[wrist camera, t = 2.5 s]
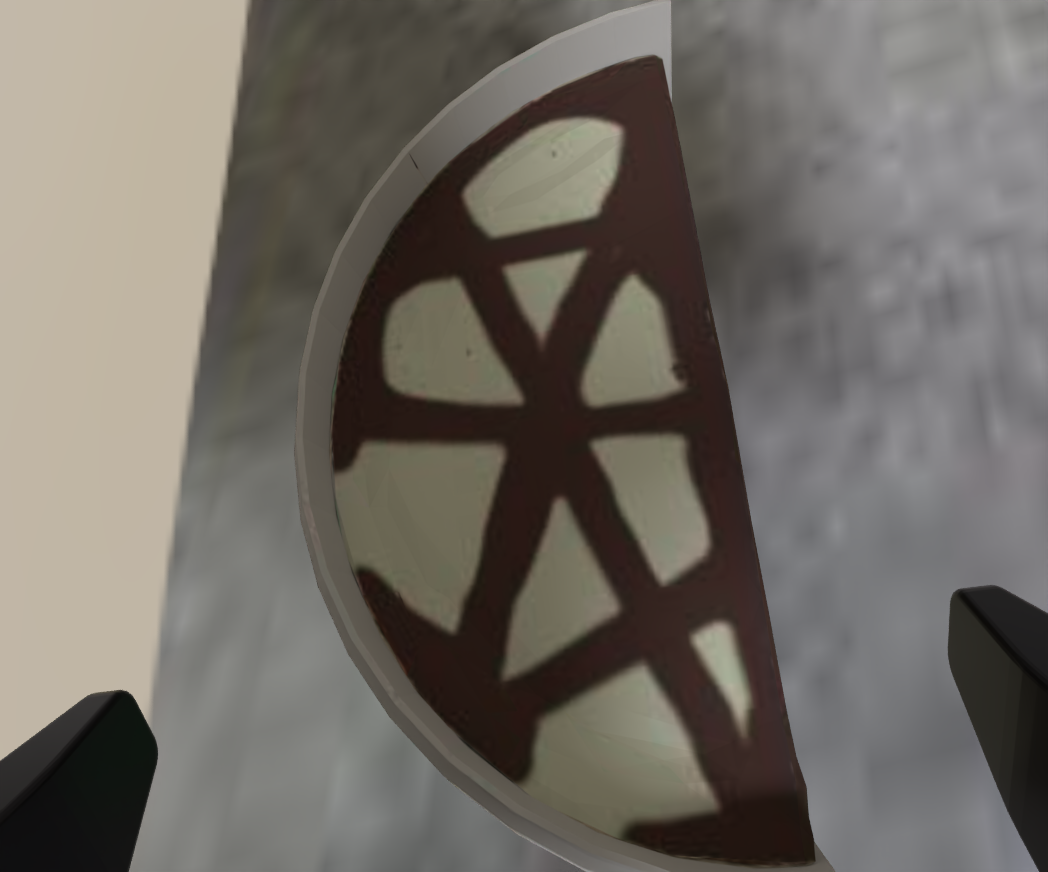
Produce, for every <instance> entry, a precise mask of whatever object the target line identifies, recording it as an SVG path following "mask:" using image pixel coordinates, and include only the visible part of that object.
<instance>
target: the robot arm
mask: <svg viewBox="0 0 1048 872" xmlns="http://www.w3.org/2000/svg"><path fill="white" fill-rule="evenodd" d="M948 659H949V664H950V668H951V672H952V675H953V677H954V680H955V682H956V685H957V687H958V690H959V692H960V695H961V697H962V700H963V702H964V705H965V707H966V710H967V712H968V715H969V717H970V720H971V722H972V725H973V727H974V730H975V732H976V735H977V737H978V740H979V742H980V745H981V747H982V750H983V752H984V755H985V757H986V760H987V762H988V765H989V767H990V770H991V772H992V775H993V777H994V780H995V782H996V785H997V787H998V790H999V792H1000V794H1001V797H1002V799H1003V802H1004V804H1005V806H1006V809H1007V811H1008V813H1009V815H1010V817H1011V819H1012V821H1013V823H1014V825H1015V827H1016V829H1017V831H1018V833H1019V835H1020V837H1021V839H1022V841H1023V843H1024V844H1025V846H1026V848H1027V850H1028V852H1029V854H1030V856H1031V857H1032V859H1033V861H1034V863H1035V865H1036V867H1037V869H1038V870H1039V872H1048V613H1046V612H1045V611H1043V610H1041V609H1039V608H1037V607H1036V606H1034V605H1032V604H1030V603H1028V602H1027V601H1025V600H1023V599H1021V598H1019V597H1018V596H1016V595H1014V594H1012V593H1010V592H1009V591H1007V590H1005V589H1003V588H1001V587H999V586H995V585H987V586H978V587H970V588H962V589H958V590H956V591H955V592H954V593H953V595H952V597H951V601H950V616H949V636H948ZM157 760H158V747H157V743H156V739H155V737H154V735H153V733H152V731H151V729H150V727H149V725H148V724H147V722H146V720H145V718H144V716H143V714H142V712H141V710H140V708H139V706H138V704H137V702H136V700H135V699H134V697H133V696H132V695H131V694H129V692H127V691H123V690H116V691H107V692H99V693H94V694H91V695H88V696H87V697H85V698H84V699H82V700H81V701H80V702H78V703H77V704H76V705H74V706H73V707H72V708H70V709H69V710H68V711H66V712H65V713H64V714H62V715H61V716H60V717H58V718H57V719H56V720H54V721H53V722H51V723H50V724H49V725H48V726H46V727H45V728H43V729H42V730H41V731H39V732H38V733H37V734H36V735H35V736H33V737H31V738H30V739H29V740H28V741H26V742H25V743H23V744H22V745H21V746H20V747H18V748H17V749H15V750H14V751H13V752H11V753H10V754H9V755H8V756H6V757H5V758H4V759H2V760H1V761H0V872H129V868H130V865H131V861H132V857H133V853H134V849H135V845H136V842H137V838H138V834H139V830H140V826H141V823H142V819H143V815H144V811H145V807H146V803H147V800H148V796H149V792H150V788H151V784H152V781H153V777H154V773H155V769H156V765H157Z"/></svg>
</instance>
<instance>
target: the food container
mask: <svg viewBox="0 0 1048 872" xmlns="http://www.w3.org/2000/svg"><path fill="white" fill-rule="evenodd" d="M294 456H295V466H296V476H297V487H298V497H299V507H300V517H301V523H302V527H303V531H304V535H305V538H306V542H307V546H308V550H309V553H310V557H311V561H312V565H313V569H314V572H315V576H316V580H317V584H318V588H319V590H320V592H321V594H322V597H323V599H324V601H325V603H326V606H327V608H328V610H329V612H330V615H331V617H332V619H333V621H334V624H335V626H336V628H337V630H338V633H339V635H340V637H341V639H342V641H343V644H344V646H345V648H346V650H347V653H348V655H349V656H350V658H351V659H352V661H353V662H354V664H355V665H356V667H357V668H358V670H359V671H360V673H361V674H362V676H363V678H364V679H365V681H366V682H367V684H368V685H369V687H370V688H371V690H372V691H373V693H374V694H375V696H376V697H377V699H378V700H379V702H380V703H381V705H382V706H383V708H384V709H385V711H386V712H387V714H388V716H389V717H390V718H391V719H392V720H393V721H394V723H395V724H396V725H397V726H398V727H399V728H400V729H401V730H402V731H403V732H404V733H405V735H406V736H407V737H408V738H409V739H410V740H411V741H412V742H413V743H414V744H415V745H416V747H417V748H418V749H419V750H420V751H421V752H422V753H423V754H424V755H425V756H426V757H427V758H428V760H429V761H430V762H431V763H432V764H433V765H434V766H435V767H436V768H437V769H438V770H439V772H440V773H441V774H442V775H443V776H444V777H445V778H446V779H448V780H449V781H450V782H451V783H452V784H453V785H454V786H455V787H457V788H458V789H459V790H460V791H462V792H463V793H464V794H466V795H467V796H468V797H470V798H471V799H472V800H473V801H475V802H476V803H477V804H479V805H480V806H481V807H482V808H484V809H485V810H486V811H488V812H489V813H490V814H492V815H493V816H494V817H495V818H497V819H498V820H499V821H501V822H502V823H503V824H505V825H506V826H507V827H508V828H510V829H511V830H512V831H514V832H515V833H516V834H518V835H519V836H521V837H523V838H525V839H527V840H529V841H530V842H532V843H534V844H536V845H538V846H540V847H542V848H543V849H545V850H547V851H549V852H551V853H553V854H555V855H556V856H558V857H560V858H562V859H564V860H566V861H568V862H569V863H571V864H573V865H575V866H577V867H579V868H581V869H582V870H584V871H586V872H835V870H834V869H833V867H832V866H831V865H830V863H829V862H828V860H827V859H826V858H825V856H824V855H823V853H822V852H821V851H820V849H819V848H818V846H817V845H816V844H815V842H814V838H813V834H812V829H811V825H810V820H809V813H808V800H807V788H806V784H805V781H804V778H803V775H802V772H801V769H800V766H799V763H798V760H797V757H796V753H795V748H794V743H793V739H792V734H791V729H790V724H789V720H788V715H787V710H786V705H785V699H784V694H783V688H782V683H781V677H780V672H779V666H778V661H777V655H776V650H775V644H774V639H773V633H772V628H771V622H770V617H769V611H768V606H767V601H766V595H765V590H764V585H763V580H762V574H761V569H760V564H759V559H758V553H757V548H756V543H755V538H754V532H753V527H752V522H751V516H750V510H749V505H748V499H747V493H746V487H745V481H744V476H743V470H742V464H741V458H740V453H739V447H738V441H737V435H736V430H735V424H734V418H733V412H732V406H731V401H730V395H729V389H728V384H727V379H726V375H725V370H724V365H723V361H722V356H721V351H720V347H719V342H718V337H717V332H716V328H715V323H714V318H713V314H712V309H711V304H710V300H709V295H708V289H707V284H706V279H705V273H704V268H703V263H702V257H701V252H700V247H699V242H698V236H697V231H696V226H695V220H694V215H693V210H692V205H691V200H690V194H689V189H688V184H687V179H686V174H685V168H684V163H683V158H682V153H681V148H680V142H679V137H678V132H677V127H676V122H675V117H674V112H673V107H672V72H671V0H655V1H652V2H648V3H644V4H641V5H637V6H633V7H629V8H626V9H622V10H618V11H614V12H611V13H609V14H606V15H604V16H601V17H599V18H596V19H594V20H591V21H589V22H586V23H584V24H581V25H579V26H576V27H574V28H571V29H569V30H567V31H564V32H562V33H559V34H557V35H554V36H552V37H550V38H548V39H547V40H545V41H543V42H541V43H540V44H538V45H536V46H534V47H532V48H531V49H529V50H527V51H525V52H524V53H522V54H520V55H518V56H516V57H515V58H513V59H511V60H509V61H507V62H506V63H504V64H502V65H500V66H499V67H497V68H496V69H494V70H493V71H492V72H490V73H489V74H488V75H486V76H485V77H484V78H482V79H481V80H480V81H478V82H477V83H476V84H474V85H473V86H472V87H470V88H469V89H468V90H466V91H465V92H464V93H462V94H461V95H460V96H458V97H457V98H456V99H454V100H453V101H452V102H450V103H449V104H448V105H447V106H446V107H445V108H444V109H443V110H442V111H441V112H439V113H438V114H437V115H436V116H435V117H434V118H433V119H432V120H431V121H430V122H429V123H428V124H427V125H426V126H425V127H424V128H423V129H422V130H421V131H420V132H419V133H418V134H417V135H416V136H415V137H414V138H413V139H412V140H411V141H410V142H409V143H408V144H407V145H406V146H405V147H404V148H403V149H402V150H401V152H400V153H399V154H398V156H397V157H396V158H395V160H394V161H393V162H392V163H391V165H390V166H389V167H388V169H387V170H386V171H385V173H384V174H383V175H382V176H381V178H380V179H379V180H378V182H377V183H376V184H375V186H374V187H373V188H372V189H371V191H370V192H369V193H368V195H367V196H366V197H365V199H364V201H363V203H362V204H361V206H360V208H359V210H358V212H357V213H356V215H355V217H354V219H353V220H352V222H351V224H350V226H349V228H348V229H347V231H346V233H345V235H344V236H343V238H342V240H341V242H340V243H339V245H338V247H337V249H336V251H335V253H334V256H333V258H332V261H331V264H330V266H329V269H328V271H327V274H326V277H325V279H324V282H323V285H322V287H321V290H320V292H319V295H318V298H317V300H316V303H315V305H314V308H313V311H312V316H311V321H310V325H309V330H308V335H307V339H306V344H305V348H304V353H303V358H302V362H301V367H300V371H299V387H298V401H297V417H296V434H295V450H294Z"/></svg>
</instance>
